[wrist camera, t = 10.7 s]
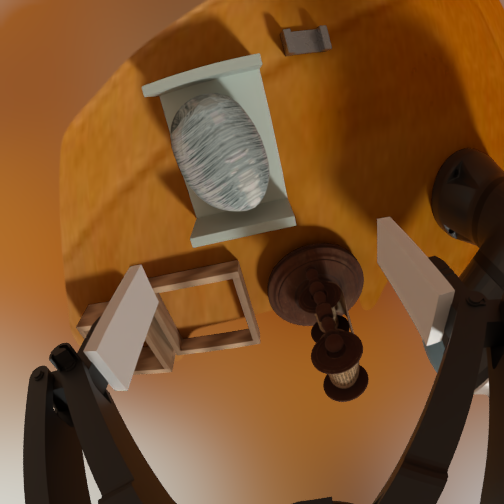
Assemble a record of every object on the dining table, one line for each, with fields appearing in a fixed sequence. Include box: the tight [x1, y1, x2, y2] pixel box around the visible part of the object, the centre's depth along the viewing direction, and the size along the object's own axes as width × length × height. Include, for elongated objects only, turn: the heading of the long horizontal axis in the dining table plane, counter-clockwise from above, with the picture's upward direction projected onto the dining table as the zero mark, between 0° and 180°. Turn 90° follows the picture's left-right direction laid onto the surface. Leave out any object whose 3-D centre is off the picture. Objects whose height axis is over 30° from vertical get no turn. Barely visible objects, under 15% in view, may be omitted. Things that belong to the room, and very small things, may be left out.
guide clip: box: [280, 25, 332, 56], centre depth 27 cm, size 5×3×3 cm, turn 103°
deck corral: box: [148, 260, 260, 355], centre depth 46 cm, size 15×15×3 cm
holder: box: [142, 53, 296, 248], centre depth 32 cm, size 12×19×7 cm, turn 13°
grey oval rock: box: [170, 93, 269, 211], centre depth 30 cm, size 14×10×10 cm
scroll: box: [268, 243, 368, 402], centre depth 37 cm, size 15×15×20 cm
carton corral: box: [76, 301, 176, 374], centre depth 47 cm, size 13×13×6 cm
